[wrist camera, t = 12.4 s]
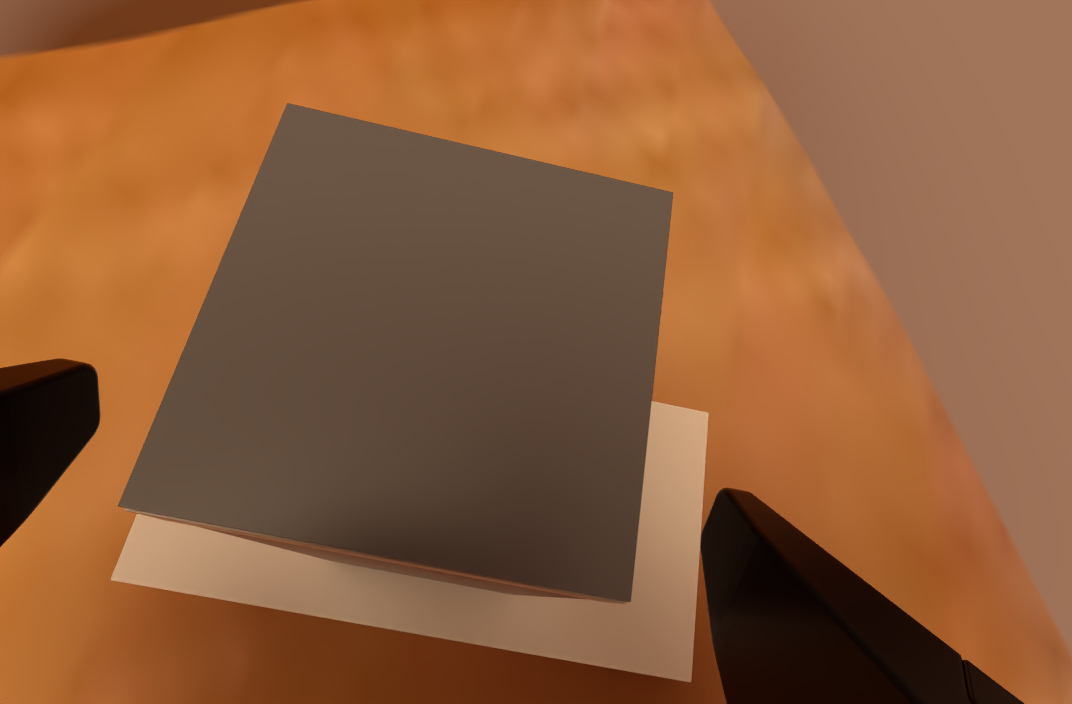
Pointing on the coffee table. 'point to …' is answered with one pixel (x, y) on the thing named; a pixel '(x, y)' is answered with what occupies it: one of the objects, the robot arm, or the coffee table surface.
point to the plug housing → (422, 365)
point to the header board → (465, 612)
